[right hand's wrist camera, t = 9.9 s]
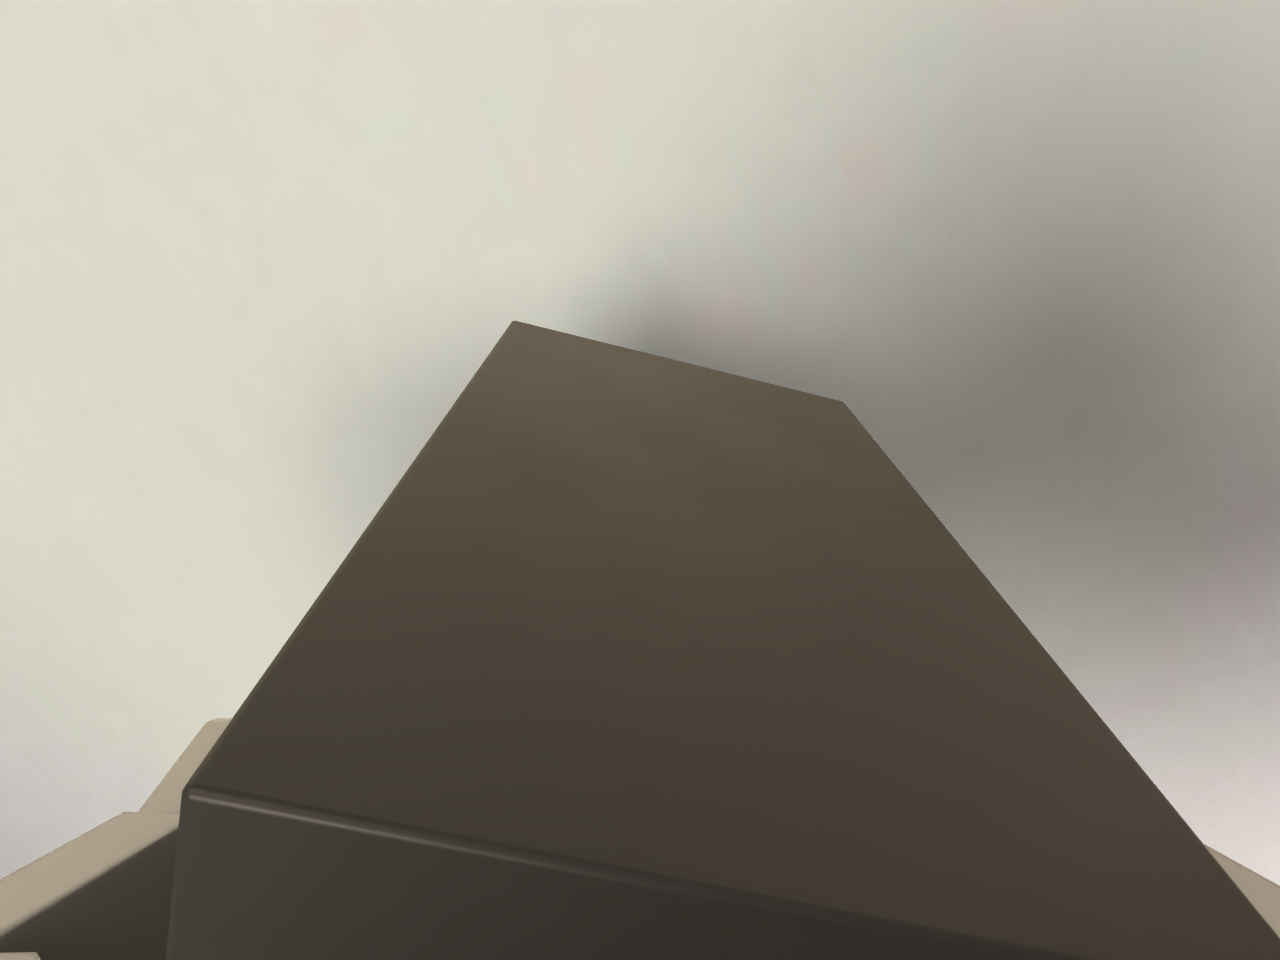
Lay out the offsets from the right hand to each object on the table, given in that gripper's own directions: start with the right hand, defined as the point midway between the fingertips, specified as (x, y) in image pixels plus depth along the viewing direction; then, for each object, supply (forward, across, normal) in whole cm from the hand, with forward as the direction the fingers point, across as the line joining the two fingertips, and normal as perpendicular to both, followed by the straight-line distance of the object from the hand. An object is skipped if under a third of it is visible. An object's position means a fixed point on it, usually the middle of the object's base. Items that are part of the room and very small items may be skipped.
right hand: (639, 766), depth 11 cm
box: (+7, -2, -7) cm, 10 cm away
